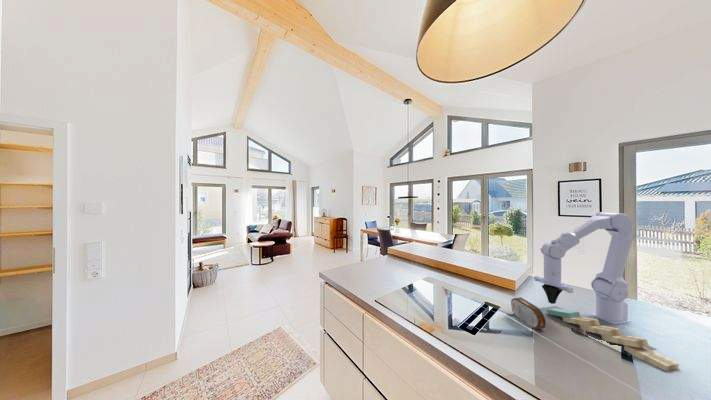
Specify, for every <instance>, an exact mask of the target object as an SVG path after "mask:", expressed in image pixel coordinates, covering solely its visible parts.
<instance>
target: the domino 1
mask: <svg viewBox="0 0 711 400" xmlns="http://www.w3.org/2000/svg"><path fill="white" fill-rule="evenodd" d="M563 309H564V308H562V309H557V308H555V309H547V313H548V314H550V315H555V316H561V317H567V318H576V317H580V316H581V314H580V312H579V311H576V310H571V309H570V310H568V309H564V310H563Z"/></svg>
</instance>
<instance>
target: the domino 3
mask: <svg viewBox="0 0 711 400" xmlns="http://www.w3.org/2000/svg"><path fill="white" fill-rule="evenodd" d="M580 328H581V330H583V331H588V332H592V333H597V334H601V335H606V336H611V337H612V336H617V335H622V334H623V333H622V331H621V329H620V328H616V327H612V326H608V325H602V324H600V325H597V326H591V327H588V326H583V325H580Z"/></svg>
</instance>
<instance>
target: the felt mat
mask: <svg viewBox="0 0 711 400" xmlns="http://www.w3.org/2000/svg"><path fill="white" fill-rule="evenodd" d="M538 308H539V309H540V310H541V312H542V313H543V315H544V317H547V318H548V319H551V320H553V321H554V322H557V323H558V324H561V325H563V326H565V327H567V328H569V327H570V328H569V329H571V328H580V325H578V324H573V323H568V322H563V318H562V317H561V316H555V315H550V314H548V313H547V309H555V308H557V309H563V310H565V309H564V308H562V307H559V306H557V305H552V306H547V307H546V306H544V307H538ZM580 317H582V316H581V315H580ZM580 329H581V328H580ZM587 332H588V331H587ZM621 334H622V335H624V334H623V333H621ZM588 335H589V336H591V337H593V338H595V339H598V340H603V339H602V336H601V334H597V333H592V332H588ZM601 342H602V341H601ZM606 342H607V343H609V344H610V345H618V346H624V345H622V344H617V343H613V342H608V341H606ZM597 343H599V341H598V342H597ZM644 347H645V348H647V349H649V350H651V351H657V350H658V349H657V348H656V347H653V346H650V345H649V346H644ZM631 355H632V354H630V355H629V356H631ZM632 356H633V355H632Z"/></svg>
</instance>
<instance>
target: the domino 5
mask: <svg viewBox="0 0 711 400" xmlns="http://www.w3.org/2000/svg"><path fill="white" fill-rule="evenodd" d="M624 350H625V351H627V352H628V353H630V354H632V356H634V357H636V358H638V359H640V360H642V361H645V362H646V363H648V364H651V365H653V366H655V367H657V368H659V369H662V370H664V371H665V372H668V371H669V372H670V371H674V370H677V369H679V366H680V365H679V364H680V363H679V362H676V361H675V360H673V359H670V358H668V357H666V356H664V355H662V354H660V353H657V352H655V351H654V350H652V351H651V350H649V349H647V348H645V347H638V348H637V347H632V346H627V345H624Z"/></svg>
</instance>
